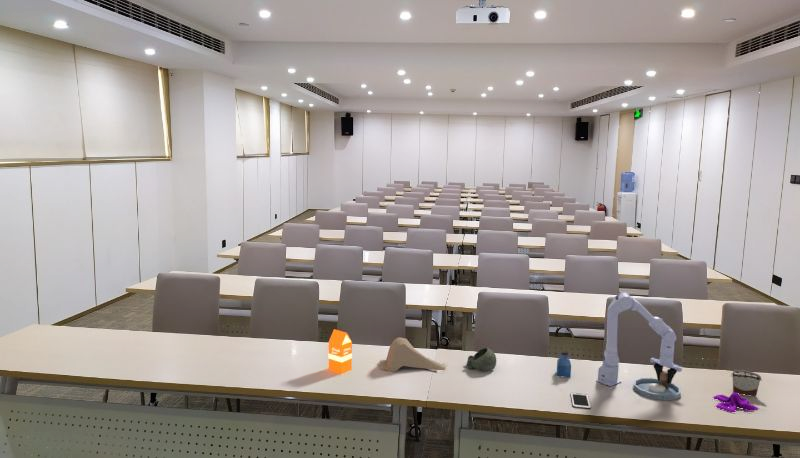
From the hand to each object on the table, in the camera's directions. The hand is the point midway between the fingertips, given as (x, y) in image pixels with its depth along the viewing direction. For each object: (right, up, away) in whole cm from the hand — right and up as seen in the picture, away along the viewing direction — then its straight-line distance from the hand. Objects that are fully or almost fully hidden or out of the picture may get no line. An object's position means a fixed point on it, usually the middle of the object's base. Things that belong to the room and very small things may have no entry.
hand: (664, 381), depth 271 cm
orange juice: (-156, +2, +13) cm, 156 cm away
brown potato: (0, -2, 0) cm, 2 cm away
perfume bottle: (-44, -1, +14) cm, 46 cm away
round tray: (-5, -4, -3) cm, 7 cm away
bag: (-119, +2, +20) cm, 121 cm away
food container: (+36, -5, -3) cm, 36 cm away
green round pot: (-84, +1, +21) cm, 87 cm away
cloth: (+25, -7, -17) cm, 31 cm away
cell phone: (-45, -5, -16) cm, 48 cm away
